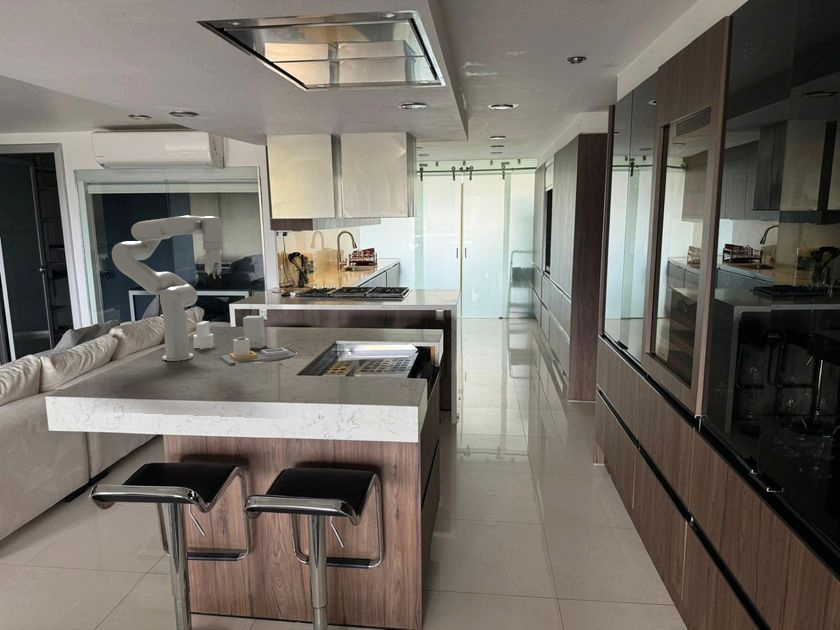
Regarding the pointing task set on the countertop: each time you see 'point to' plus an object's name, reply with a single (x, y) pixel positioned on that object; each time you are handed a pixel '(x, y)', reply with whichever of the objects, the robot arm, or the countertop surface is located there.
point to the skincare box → (254, 331)
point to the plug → (241, 346)
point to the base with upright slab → (203, 336)
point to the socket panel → (257, 355)
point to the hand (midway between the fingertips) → (214, 286)
